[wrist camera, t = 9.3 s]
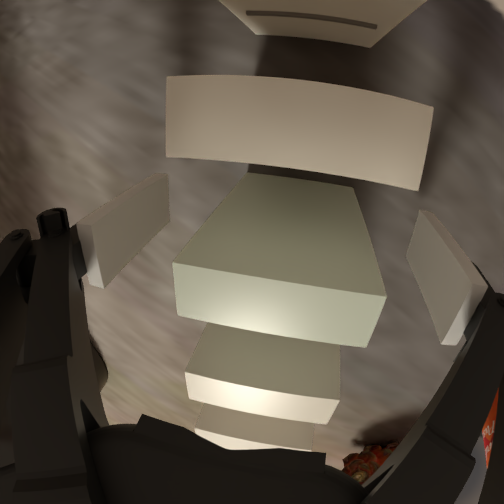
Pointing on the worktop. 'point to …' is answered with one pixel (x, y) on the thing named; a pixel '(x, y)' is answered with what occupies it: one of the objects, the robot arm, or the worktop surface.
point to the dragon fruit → (367, 461)
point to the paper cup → (490, 428)
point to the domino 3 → (284, 263)
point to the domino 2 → (298, 126)
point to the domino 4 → (265, 374)
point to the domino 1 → (324, 18)
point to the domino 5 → (252, 430)
